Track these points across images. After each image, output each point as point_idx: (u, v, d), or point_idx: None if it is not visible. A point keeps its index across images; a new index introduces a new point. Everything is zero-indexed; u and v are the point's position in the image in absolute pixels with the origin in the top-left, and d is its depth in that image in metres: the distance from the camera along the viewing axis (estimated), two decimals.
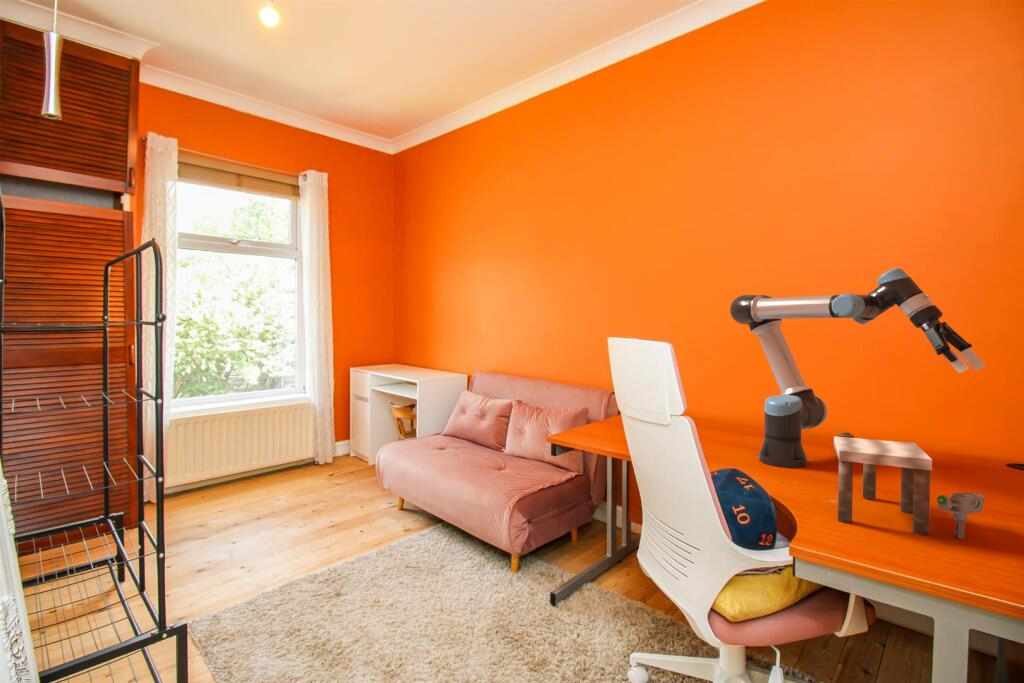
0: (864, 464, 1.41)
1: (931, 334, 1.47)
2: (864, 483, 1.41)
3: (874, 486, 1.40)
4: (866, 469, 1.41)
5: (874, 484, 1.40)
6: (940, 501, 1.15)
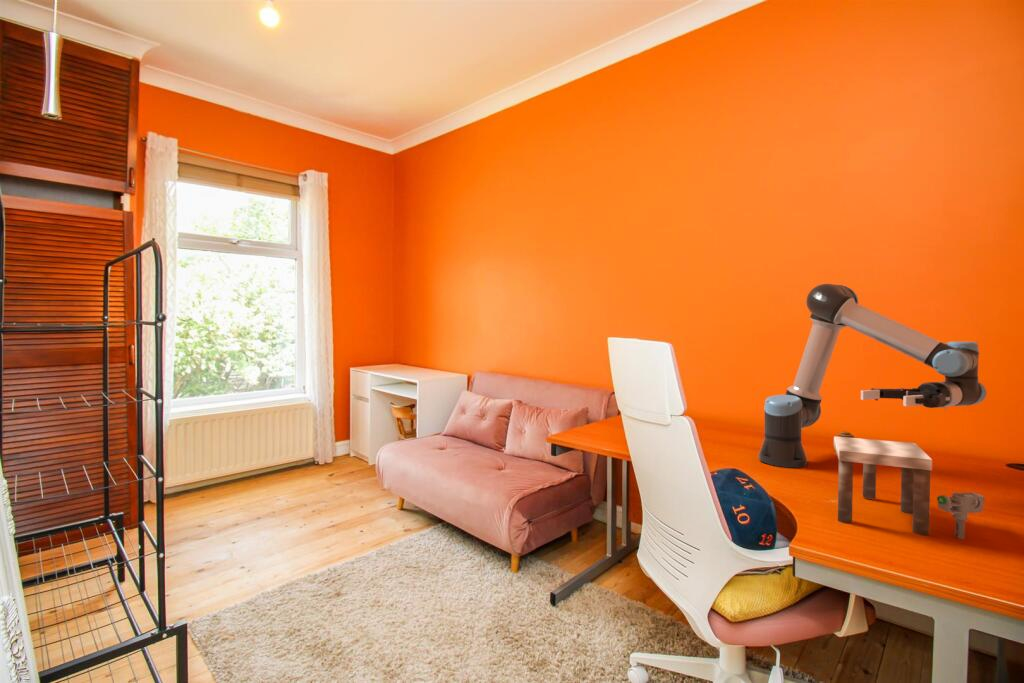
0: (864, 464, 1.41)
1: (943, 399, 1.40)
2: (864, 483, 1.41)
3: (874, 486, 1.40)
4: (866, 469, 1.41)
5: (874, 484, 1.40)
6: (940, 501, 1.15)
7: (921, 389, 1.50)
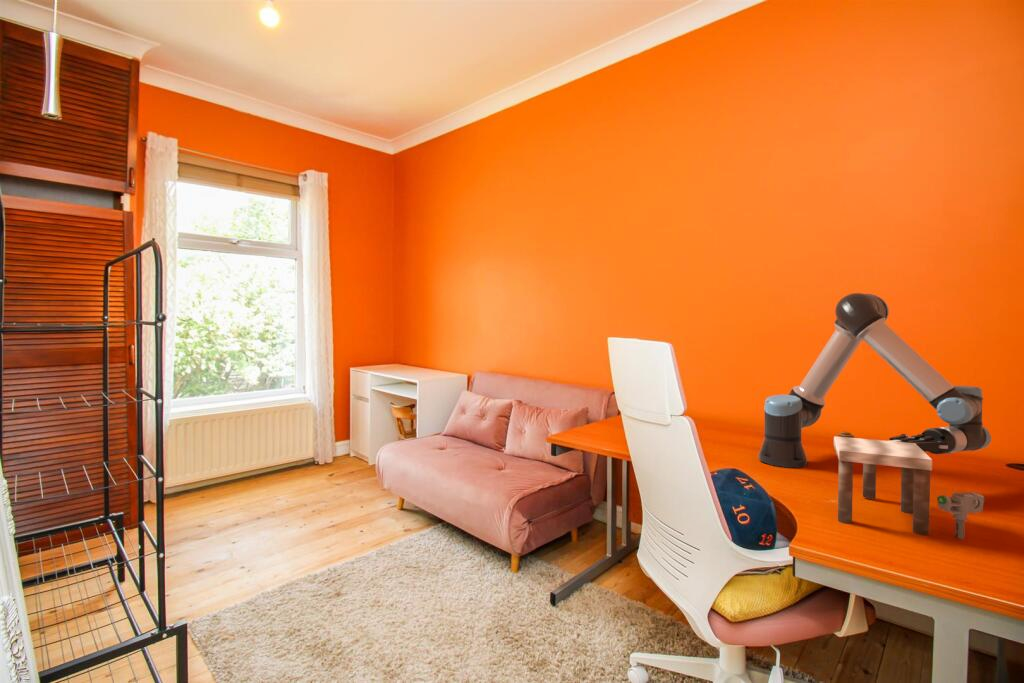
0: (864, 464, 1.41)
1: (932, 447, 1.41)
2: (864, 483, 1.41)
3: (874, 486, 1.40)
4: (866, 469, 1.41)
5: (874, 484, 1.40)
6: (940, 501, 1.15)
7: (925, 435, 1.50)
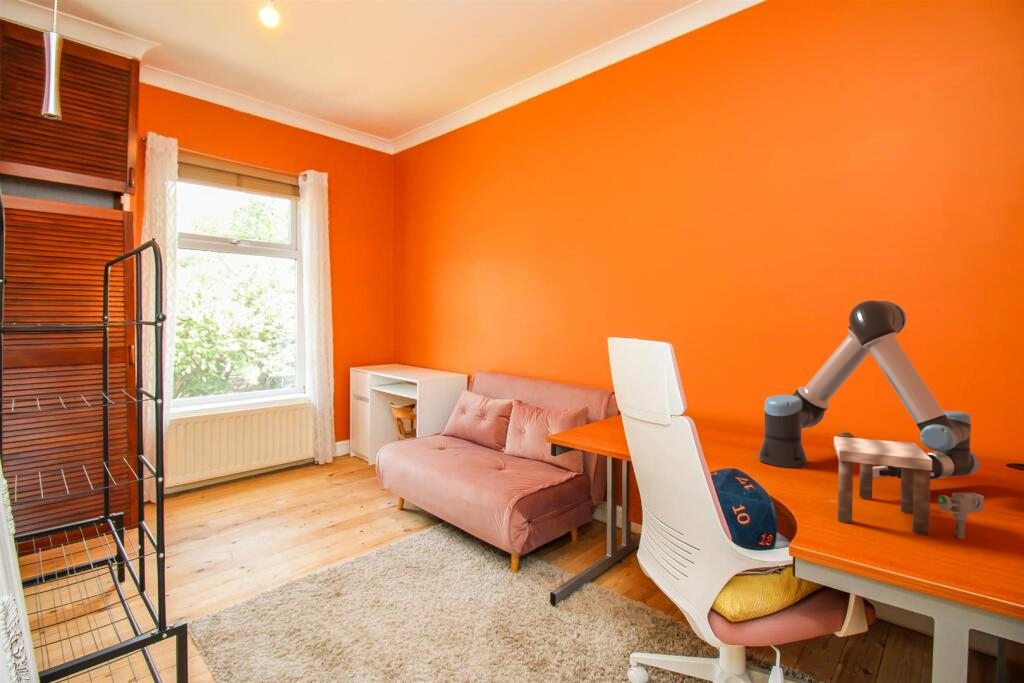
0: (861, 464, 1.42)
1: None
2: (861, 483, 1.42)
3: (871, 486, 1.41)
4: (863, 469, 1.41)
5: (871, 484, 1.41)
6: (940, 501, 1.15)
7: None
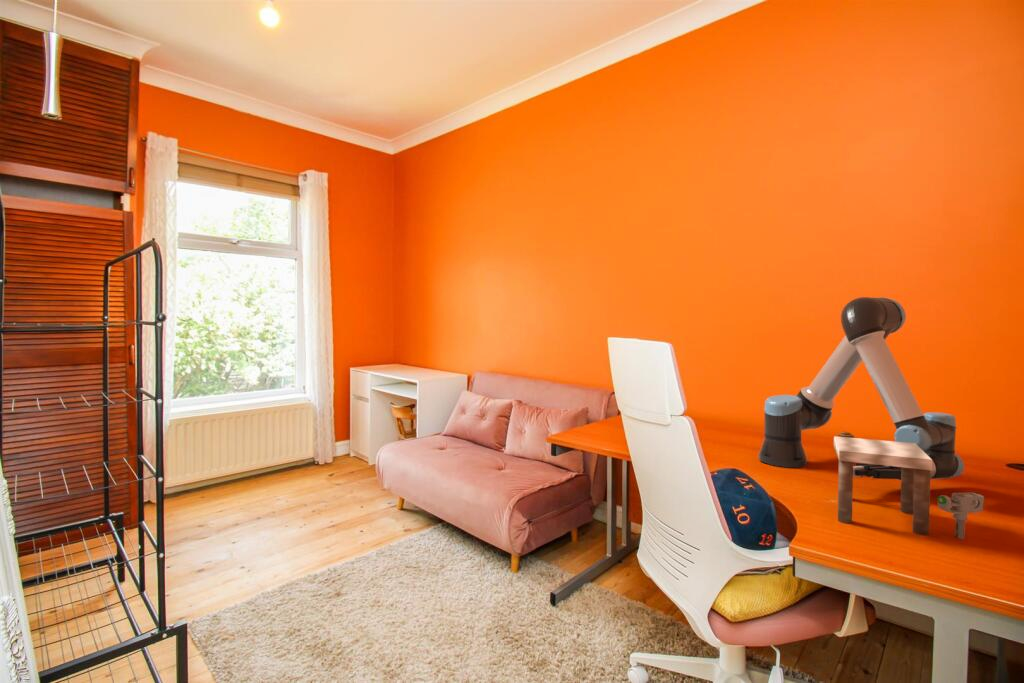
0: None
1: (894, 474, 1.42)
2: None
3: None
4: None
5: None
6: (940, 501, 1.15)
7: None
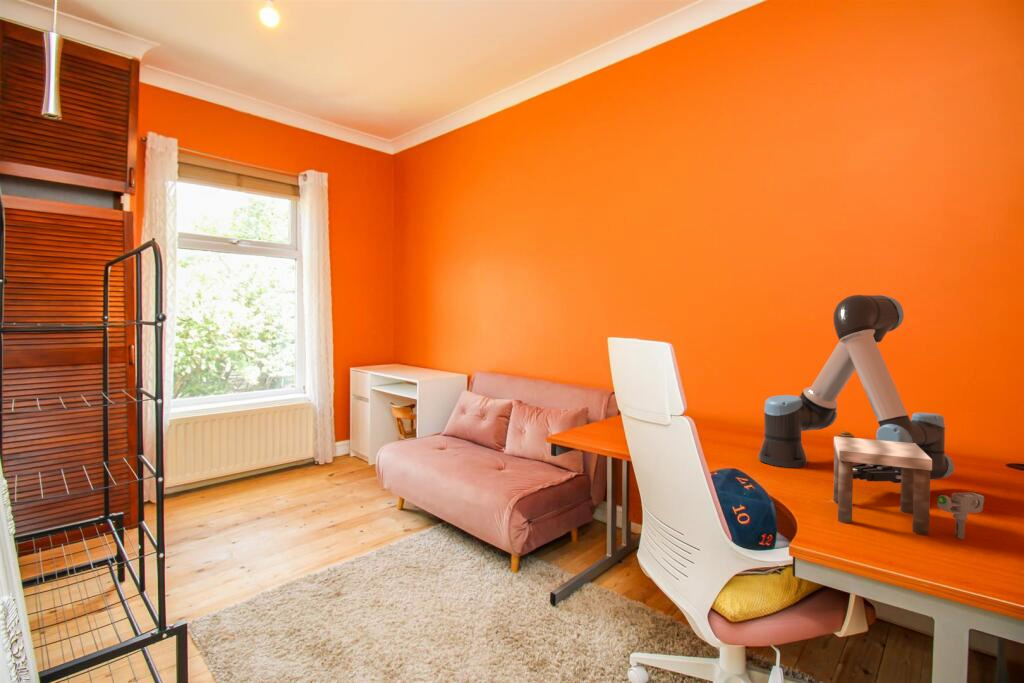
0: None
1: (888, 477, 1.39)
2: None
3: None
4: None
5: None
6: (940, 501, 1.15)
7: None
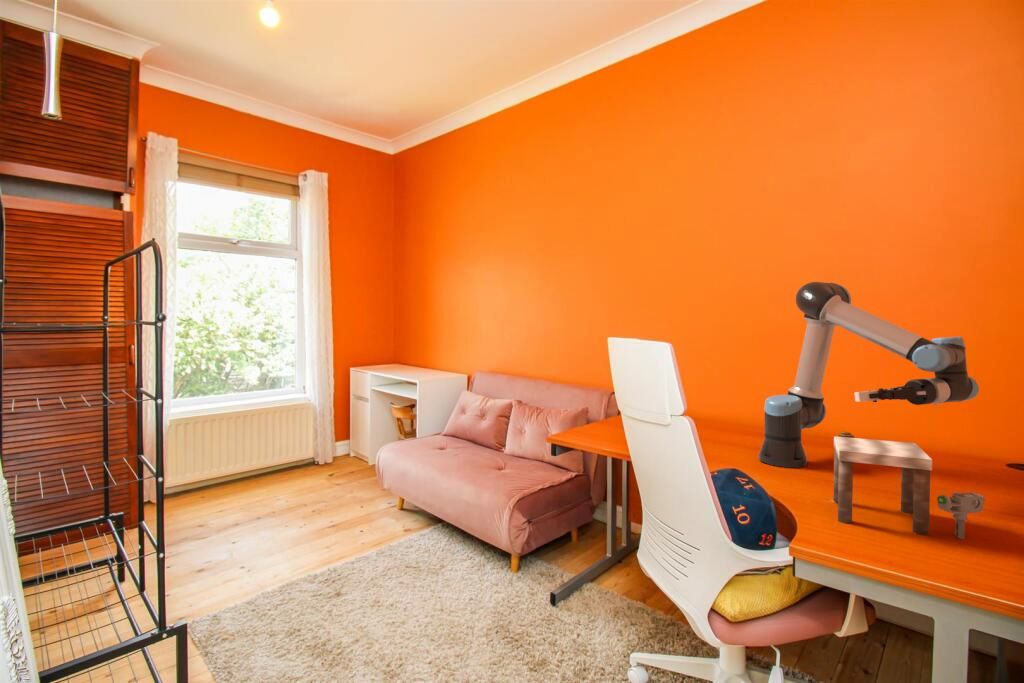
0: None
1: (909, 393, 1.42)
2: None
3: None
4: None
5: None
6: (940, 501, 1.15)
7: None
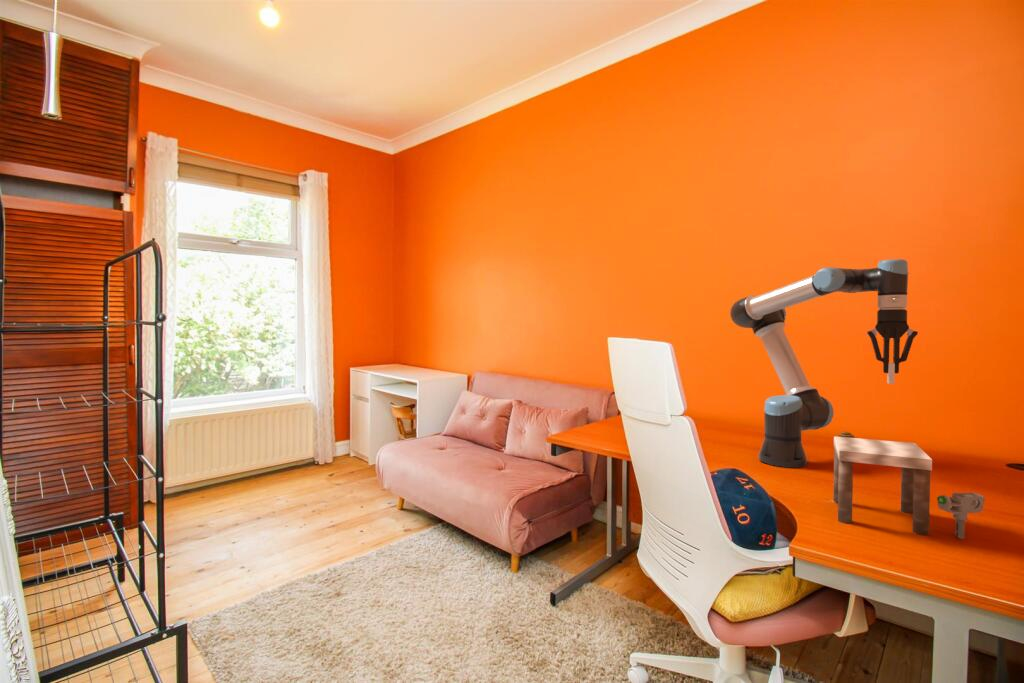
0: None
1: (872, 344, 1.61)
2: None
3: None
4: None
5: None
6: (940, 501, 1.15)
7: None
